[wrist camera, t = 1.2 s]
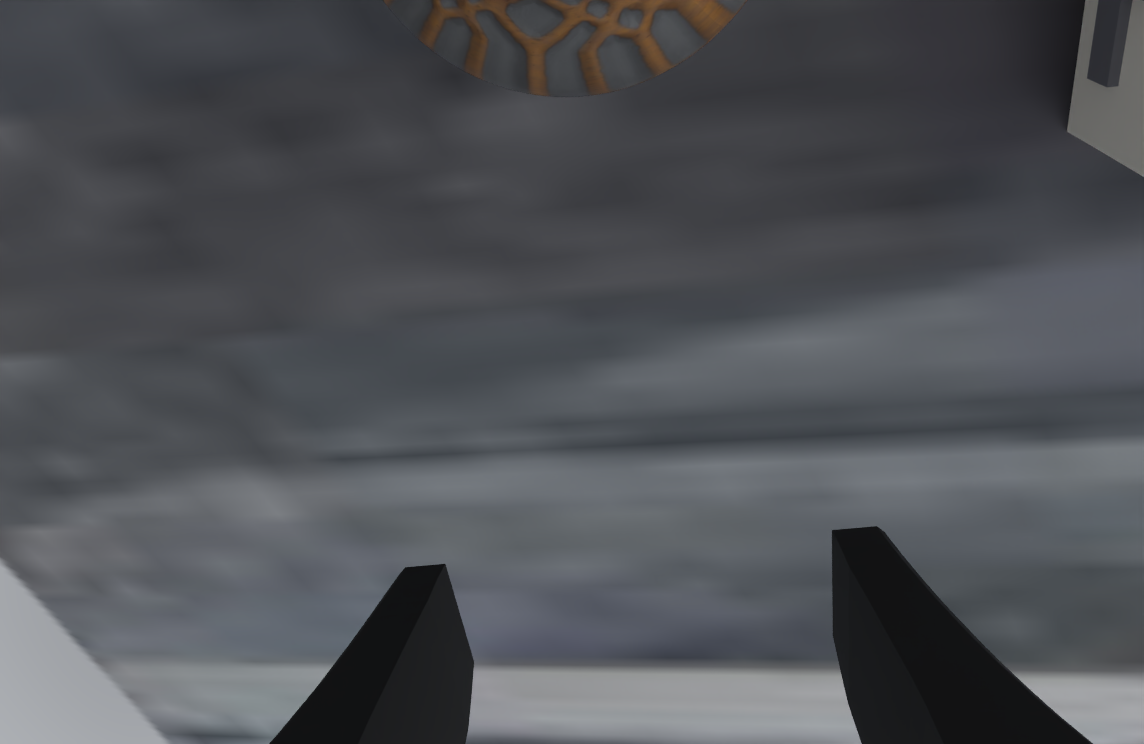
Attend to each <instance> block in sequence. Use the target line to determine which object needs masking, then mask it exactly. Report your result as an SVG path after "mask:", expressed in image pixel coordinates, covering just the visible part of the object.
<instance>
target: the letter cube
mask: <svg viewBox="0 0 1144 744" xmlns="http://www.w3.org/2000/svg"><path fill="white" fill-rule="evenodd" d="M1067 132H1069V133H1070V134H1072V135H1074V136H1075V137H1077V138H1079V139H1080V140H1082V141H1084V142H1086V143H1087V144H1089V145H1091V146H1092V147H1094V148H1096V149H1097V150H1099V151H1101V152H1102V153H1104V154H1106V155H1108V156H1109V157H1111V158H1113V159H1114V160H1116V161H1118V162H1119V163H1121V164H1123V165H1124V166H1126V167H1128V168H1130V169H1131V170H1133V171H1135V172H1136V173H1138V174H1140V175H1141V176H1143V177H1144V0H1085V7H1084V14H1083V21H1082V28H1081V35H1080V43H1079V50H1078V57H1077V64H1076V71H1075V78H1074V85H1073V92H1072V99H1071V106H1070V113H1069V120H1068V128H1067Z"/></svg>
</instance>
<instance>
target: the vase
mask: <svg viewBox="0 0 1144 744" xmlns="http://www.w3.org/2000/svg"><path fill="white" fill-rule="evenodd" d="M383 1H384V2H385V4H386V5H387V6H388V7H389V9H390V10H391V11H392V12H393V13H394V15H395V16H396V17H397V18H398V19H399V20H400V21H401V22H402V23H403V24H404V26H405V27H406V28H407V29H408V30H409V31H410V32H411V33H413V34H414V35H415V36H416V37H417V38H418V39H419V40H420V41H421V42H422V43H424V44H425V45H426V46H427V47H429V48H430V49H431V50H432V51H434V52H435V53H436V54H438V55H439V56H441V57H442V58H444V59H445V60H446V61H448V62H449V63H451V64H453V65H454V66H456V67H458V68H460V69H461V70H463V71H465V72H467V73H469V74H471V75H473V76H475V77H477V78H479V79H481V80H484V81H486V82H489V83H492V84H494V85H497V86H500V87H503V88H507V89H510V90H514V91H518V92H523V93H527V94H534V95H541V96H553V97H580V96H590V95H598V94H603V93H609V92H613V91H617V90H621V89H624V88H628V87H631V86H634V85H637V84H639V83H642V82H645V81H647V80H649V79H652V78H654V77H656V76H658V75H660V74H662V73H664V72H666V71H668V70H670V69H671V68H673V67H675V66H677V65H678V64H680V63H681V62H683V61H684V60H686V59H687V58H689V57H690V56H692V55H693V54H694V53H696V52H697V51H698V50H700V49H701V48H702V47H703V46H705V45H706V44H707V43H708V42H709V41H710V40H711V39H713V38H714V37H715V36H716V35H717V34H718V33H719V32H720V31H721V30H722V29H723V28H724V27H725V26H726V25H727V24H728V23H729V22H730V21H731V19H732V18H733V17H734V16H735V15H736V14H737V13H738V12H739V10H740V9H741V8H742V6H743V5H744V4H745V2H746V1H747V0H383Z"/></svg>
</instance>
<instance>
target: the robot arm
mask: <svg viewBox="0 0 1144 744" xmlns="http://www.w3.org/2000/svg"><path fill="white" fill-rule="evenodd" d="M832 586H833V638H834V643H835V647H836V652H837V656H838V661H839V665H840V670H841V674H842V679H843V683H844V687H845V691H846V696H847V700H848V704H849V707H850V710H851V713H852V716H853V719H854V722H855V725H856V728H857V731H858V734H859V737H860V740H861V743H862V744H1093V743H1091V742H1090V741H1089V740H1088V739H1086V738H1085V737H1084V736H1083V735H1082V734H1080V733H1079V732H1078V731H1077V730H1076V729H1074V728H1073V727H1072V726H1071V725H1069V724H1068V723H1067V722H1066V721H1065V720H1064V719H1062V718H1061V717H1060V716H1059V715H1058V714H1057V713H1055V712H1054V711H1053V710H1052V709H1051V708H1050V707H1049V706H1047V705H1046V704H1045V703H1044V702H1043V701H1042V700H1041V699H1040V698H1039V697H1037V696H1036V695H1035V694H1034V693H1033V692H1032V691H1031V690H1030V689H1029V688H1028V687H1026V686H1025V685H1024V684H1023V683H1022V682H1021V681H1020V680H1019V679H1018V678H1017V677H1016V676H1015V675H1014V674H1013V673H1012V672H1011V671H1009V670H1008V669H1007V668H1006V667H1005V666H1004V665H1003V664H1002V663H1001V662H1000V661H999V660H998V659H997V658H996V657H995V656H994V655H993V654H992V653H991V652H990V651H989V650H988V649H987V648H986V647H985V646H984V645H983V644H982V643H981V642H980V641H979V640H978V639H977V638H976V637H975V636H974V635H973V634H972V633H971V632H970V631H969V629H968V628H967V627H966V626H965V625H964V624H963V623H962V622H961V621H960V620H959V619H958V618H957V617H956V616H955V615H954V614H953V613H952V612H951V611H950V609H949V608H948V607H947V606H946V605H945V604H944V603H943V602H942V601H941V600H940V598H939V597H938V596H937V595H936V594H935V593H934V592H933V591H932V589H931V588H930V587H929V586H928V585H927V584H926V583H925V581H924V580H923V579H922V578H921V577H920V576H919V574H918V573H917V572H916V571H915V570H914V568H913V567H912V566H911V565H910V564H909V562H908V561H907V560H906V559H905V558H904V556H903V555H902V554H901V553H900V551H899V550H898V549H897V548H896V546H895V545H894V544H893V543H892V541H891V540H890V539H889V537H888V536H887V535H886V533H885V532H884V531H882V530H881V529H880V528H878V527H877V526H875V527H864V528H852V529H841V530H832ZM473 668H474V660H473V657H472V654H471V650H470V647H469V643H468V640H467V636H466V633H465V630H464V626H463V623H462V619H461V616H460V613H459V609H458V606H457V602H456V599H455V596H454V592H453V589H452V585H451V582H450V579H449V575H448V572H447V568H446V565H445V564H439V565H428V566H416V567H405V569H404V570H403V571H402V572H401V573H400V574H399V576H398V577H397V579H396V580H395V581H394V583H393V584H392V585H391V587H390V588H389V590H388V591H387V593H386V594H385V595H384V597H383V598H382V600H381V601H380V602H379V604H378V605H377V607H376V608H375V610H374V611H373V612H372V614H371V615H370V617H369V618H368V619H367V621H366V622H365V623H364V625H363V626H362V628H361V629H360V630H359V632H358V633H357V635H356V636H355V637H354V639H353V640H352V641H351V643H350V644H349V645H348V647H347V648H346V649H345V651H344V652H343V653H342V655H341V656H340V657H339V659H338V660H337V661H336V663H335V664H334V665H333V667H332V668H331V669H330V671H329V672H328V673H327V675H326V676H325V677H324V678H323V680H322V681H321V682H320V684H319V685H318V686H317V687H316V689H315V690H314V691H313V692H312V694H311V695H310V696H309V697H308V698H307V700H306V701H305V702H304V703H303V704H302V706H301V707H300V708H299V709H298V710H297V712H296V713H295V714H294V715H293V716H292V718H291V719H290V720H289V721H288V722H287V724H286V725H285V726H284V727H283V728H282V730H281V731H280V732H279V733H278V734H277V736H276V737H275V738H274V739H273V740H272V741H271V742H270V744H465V742H466V737H467V732H468V725H469V715H470V705H471V694H472V681H473Z"/></svg>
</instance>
